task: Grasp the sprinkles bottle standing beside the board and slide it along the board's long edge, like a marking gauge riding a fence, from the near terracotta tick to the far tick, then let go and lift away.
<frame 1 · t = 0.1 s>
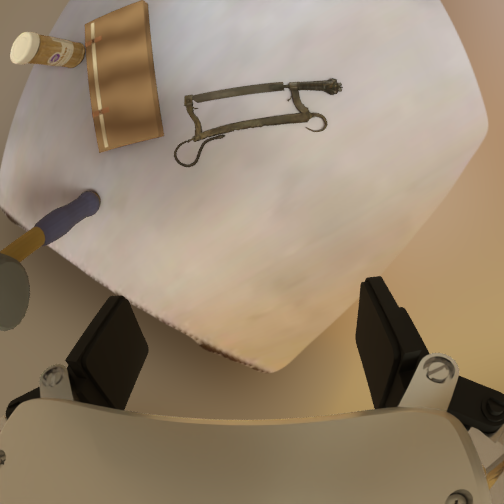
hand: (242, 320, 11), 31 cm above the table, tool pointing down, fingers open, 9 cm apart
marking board: (123, 74, 33), on the table
sprinkles bottle: (76, 55, 31), on the table
rubber mallet: (94, 200, 42), on the table
hacksaw: (256, 120, 36), on the table
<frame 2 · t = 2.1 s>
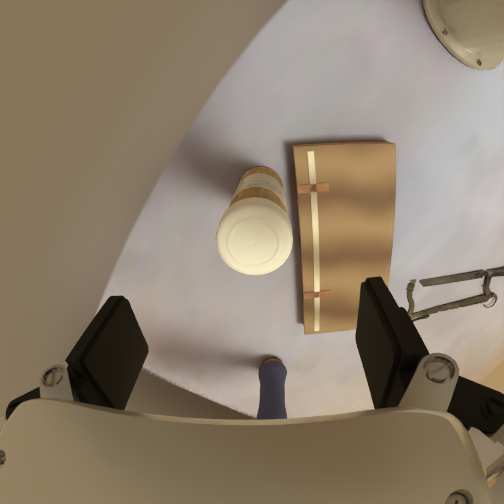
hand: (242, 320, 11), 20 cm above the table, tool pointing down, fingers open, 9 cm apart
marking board: (344, 243, 31), on the table
sprinkles bottle: (260, 186, 29), on the table
rubber mallet: (272, 362, 40), on the table
hacksaw: (453, 300, 34), on the table
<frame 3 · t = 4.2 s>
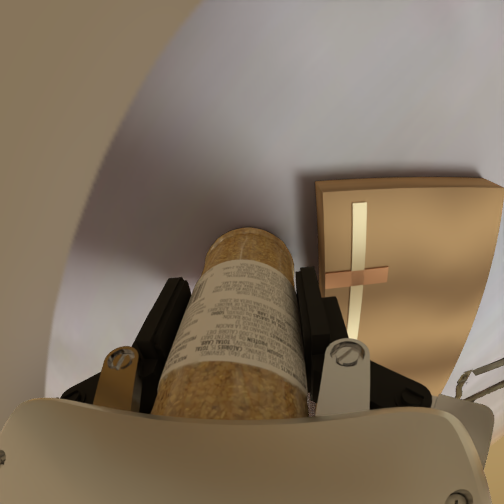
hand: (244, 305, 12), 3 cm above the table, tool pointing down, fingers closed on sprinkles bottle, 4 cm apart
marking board: (390, 345, 17), on the table
sprinkles bottle: (249, 263, 15), on the table, touching gripper
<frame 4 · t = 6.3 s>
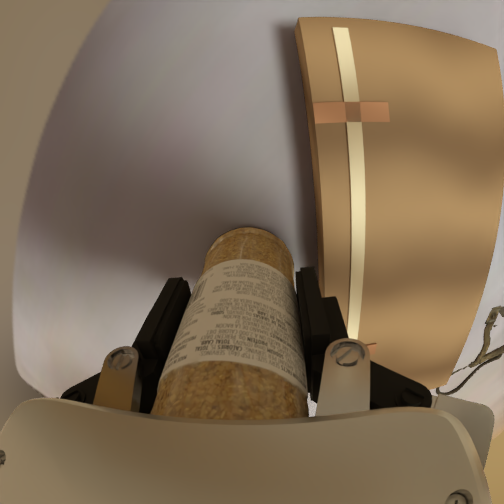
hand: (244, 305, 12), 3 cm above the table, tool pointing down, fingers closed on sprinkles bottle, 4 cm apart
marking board: (407, 247, 14), on the table
sprinkles bottle: (249, 263, 15), on the table, touching gripper
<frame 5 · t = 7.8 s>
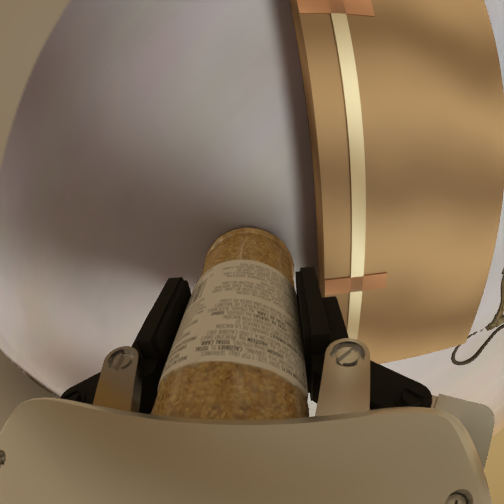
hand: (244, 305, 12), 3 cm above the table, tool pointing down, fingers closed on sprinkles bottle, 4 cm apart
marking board: (411, 163, 12), on the table
sprinkles bottle: (249, 263, 15), on the table, touching gripper
when the fingers open (3 cm above the table, at t = 8.5 s): sprinkles bottle stays where it is, on the table.
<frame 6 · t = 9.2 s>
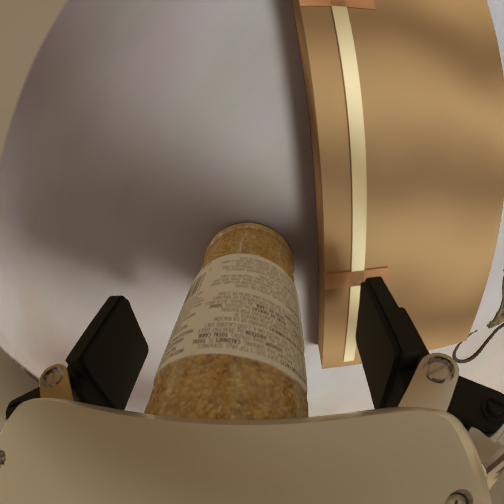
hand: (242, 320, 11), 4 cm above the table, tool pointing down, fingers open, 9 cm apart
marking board: (412, 157, 12), on the table
sprinkles bottle: (249, 259, 15), on the table
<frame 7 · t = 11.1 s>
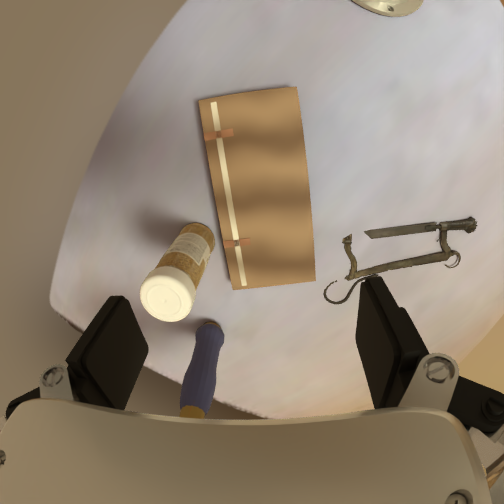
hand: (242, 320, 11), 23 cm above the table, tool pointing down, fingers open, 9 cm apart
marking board: (262, 191, 32), on the table
sprinkles bottle: (197, 238, 35), on the table
rubber mallet: (211, 328, 40), on the table
hacksaw: (405, 258, 35), on the table
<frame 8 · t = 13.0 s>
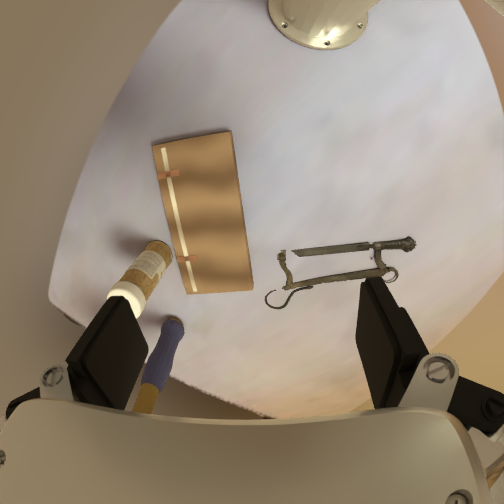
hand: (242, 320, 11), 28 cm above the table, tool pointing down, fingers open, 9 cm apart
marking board: (207, 216, 39), on the table
sprinkles bottle: (159, 252, 42), on the table
rubber mallet: (175, 323, 48), on the table
hacksaw: (340, 272, 43), on the table
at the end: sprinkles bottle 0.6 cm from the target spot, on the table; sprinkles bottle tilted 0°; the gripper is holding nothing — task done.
